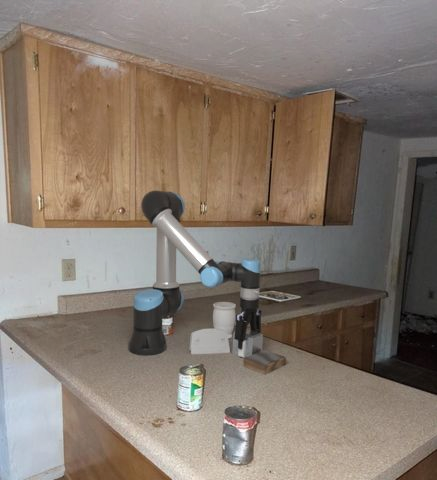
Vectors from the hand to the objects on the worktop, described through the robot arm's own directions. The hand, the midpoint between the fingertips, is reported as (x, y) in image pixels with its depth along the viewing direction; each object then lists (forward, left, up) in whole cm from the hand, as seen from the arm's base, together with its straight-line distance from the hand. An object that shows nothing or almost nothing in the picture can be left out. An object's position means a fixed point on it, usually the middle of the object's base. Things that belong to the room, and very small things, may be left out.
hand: (247, 353), depth 154 cm
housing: (0, 0, 0) cm, 0 cm away
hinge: (-8, +14, -1) cm, 16 cm away
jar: (+9, +22, -1) cm, 23 cm away
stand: (-3, -11, 0) cm, 11 cm away
